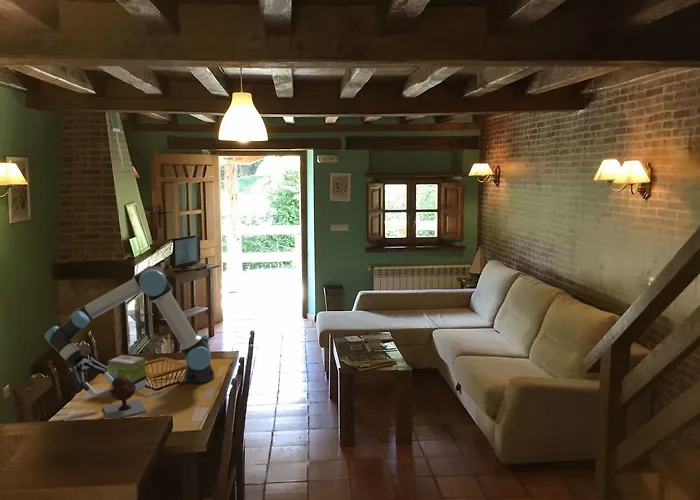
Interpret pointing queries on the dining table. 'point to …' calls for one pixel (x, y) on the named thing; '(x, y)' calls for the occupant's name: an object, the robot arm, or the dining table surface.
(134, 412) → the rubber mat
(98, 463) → the dining table surface
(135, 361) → the tea box
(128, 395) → the ice cream bowl
